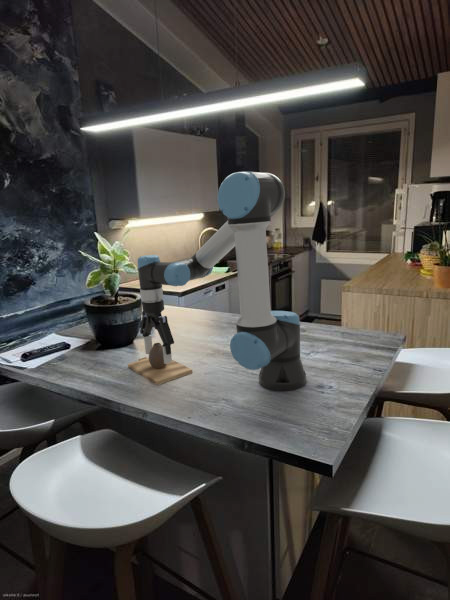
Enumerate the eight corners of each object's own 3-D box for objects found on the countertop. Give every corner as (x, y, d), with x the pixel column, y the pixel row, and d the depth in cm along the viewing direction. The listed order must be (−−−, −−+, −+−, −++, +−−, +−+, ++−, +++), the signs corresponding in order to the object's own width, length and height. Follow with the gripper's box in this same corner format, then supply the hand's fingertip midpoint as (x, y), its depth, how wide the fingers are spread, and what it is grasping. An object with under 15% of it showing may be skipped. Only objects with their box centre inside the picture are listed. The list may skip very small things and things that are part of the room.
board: (192, 372, 143) (192, 369, 142) (157, 385, 134) (157, 381, 134) (158, 355, 161) (157, 352, 161) (125, 365, 153) (125, 362, 153)
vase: (145, 369, 145) (143, 345, 143) (157, 362, 151) (155, 339, 149) (161, 371, 142) (159, 348, 140) (172, 364, 148) (170, 341, 146)
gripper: (180, 303, 134) (186, 363, 138) (145, 293, 153) (151, 347, 158) (160, 307, 129) (167, 370, 134) (126, 297, 148) (133, 352, 153)
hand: (158, 357), depth 146 cm, fingers open, 13 cm apart
